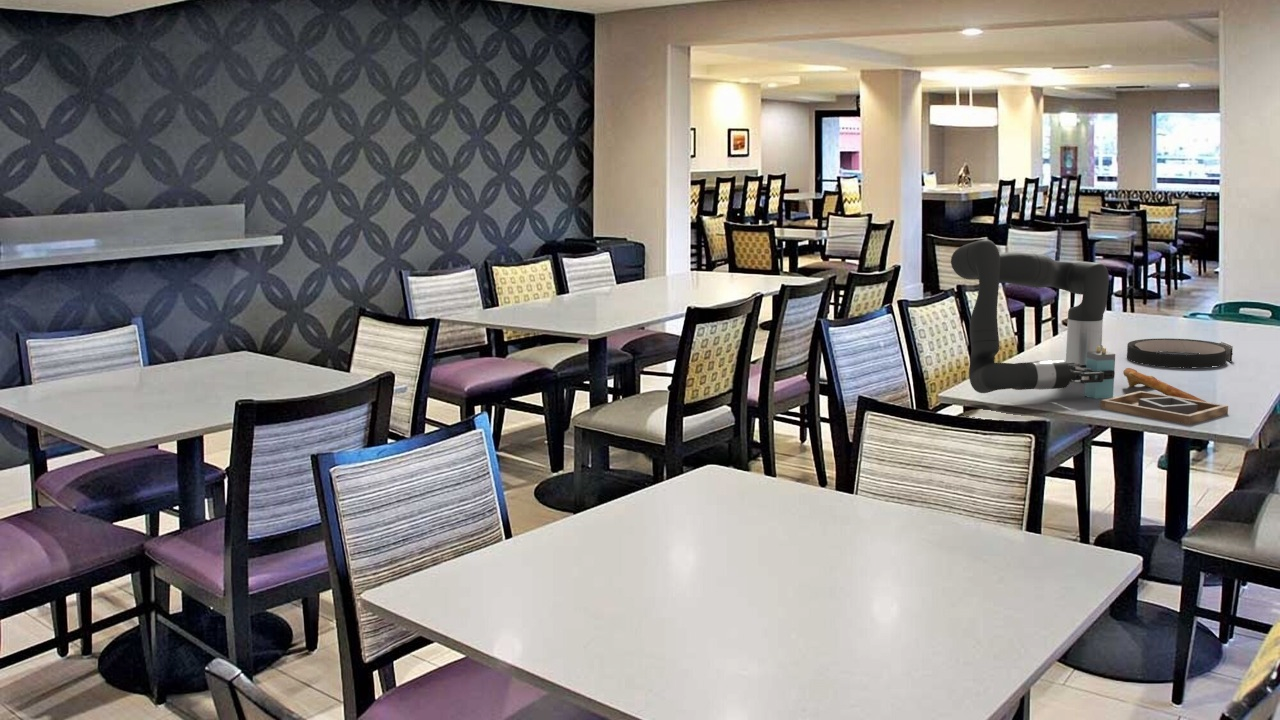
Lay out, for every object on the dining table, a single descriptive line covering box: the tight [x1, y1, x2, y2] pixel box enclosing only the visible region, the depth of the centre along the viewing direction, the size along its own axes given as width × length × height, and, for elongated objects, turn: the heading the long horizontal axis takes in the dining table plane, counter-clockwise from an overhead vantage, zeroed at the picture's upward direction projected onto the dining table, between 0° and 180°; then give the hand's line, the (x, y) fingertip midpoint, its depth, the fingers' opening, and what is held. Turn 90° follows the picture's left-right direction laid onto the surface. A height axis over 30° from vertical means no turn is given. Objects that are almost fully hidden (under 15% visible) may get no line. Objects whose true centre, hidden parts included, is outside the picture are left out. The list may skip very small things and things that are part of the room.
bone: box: [1122, 367, 1207, 402], centre depth 299 cm, size 33×8×10 cm, turn 2°
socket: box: [1138, 397, 1198, 415], centre depth 281 cm, size 10×10×2 cm
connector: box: [1084, 346, 1116, 400], centre depth 299 cm, size 5×5×14 cm
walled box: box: [1100, 390, 1229, 426], centre depth 282 cm, size 17×23×2 cm
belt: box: [1126, 338, 1234, 369], centre depth 350 cm, size 29×30×5 cm
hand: (1104, 371), depth 299 cm, fingers open, 8 cm apart
